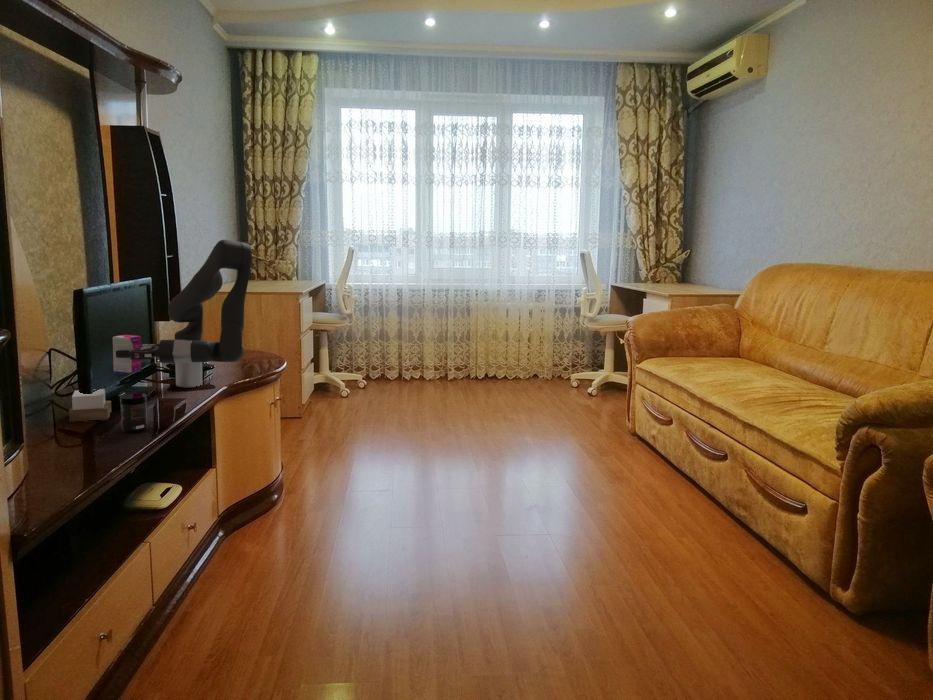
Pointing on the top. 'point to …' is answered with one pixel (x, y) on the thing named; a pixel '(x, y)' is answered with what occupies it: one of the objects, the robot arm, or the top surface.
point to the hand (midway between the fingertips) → (119, 351)
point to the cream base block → (90, 413)
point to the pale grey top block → (88, 400)
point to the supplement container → (133, 412)
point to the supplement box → (126, 363)
